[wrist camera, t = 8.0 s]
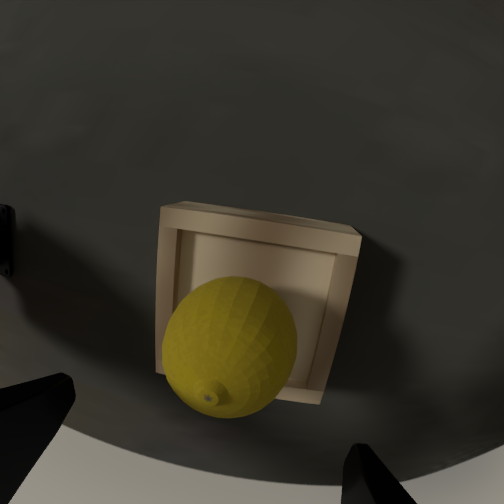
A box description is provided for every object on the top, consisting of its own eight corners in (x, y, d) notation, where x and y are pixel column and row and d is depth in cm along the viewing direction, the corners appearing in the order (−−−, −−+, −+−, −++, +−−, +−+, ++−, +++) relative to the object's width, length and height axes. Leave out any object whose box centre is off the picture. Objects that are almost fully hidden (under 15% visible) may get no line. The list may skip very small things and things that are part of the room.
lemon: (319, 307, 17) (331, 402, 9) (250, 369, 18) (220, 472, 10) (241, 236, 16) (192, 284, 9) (177, 307, 18) (105, 384, 10)
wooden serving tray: (176, 344, 22) (156, 372, 18) (186, 201, 20) (160, 206, 16) (317, 370, 21) (319, 404, 17) (350, 225, 18) (362, 236, 15)
